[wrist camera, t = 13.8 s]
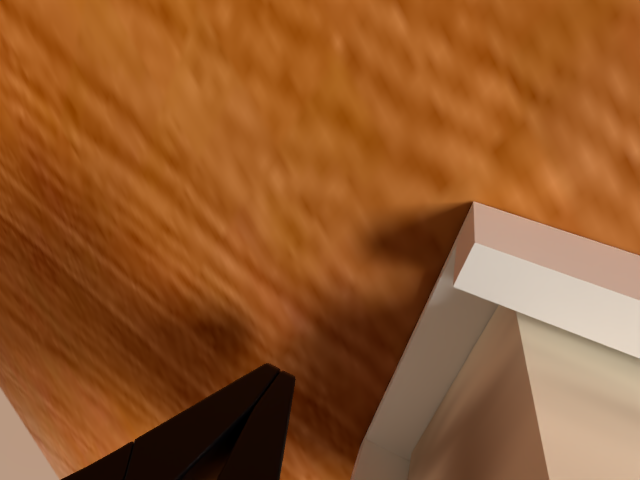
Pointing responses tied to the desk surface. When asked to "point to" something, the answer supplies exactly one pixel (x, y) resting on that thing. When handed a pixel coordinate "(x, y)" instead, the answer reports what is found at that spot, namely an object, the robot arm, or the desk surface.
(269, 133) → the desk surface
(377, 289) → the desk surface
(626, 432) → the pale wooden block
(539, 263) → the bay
